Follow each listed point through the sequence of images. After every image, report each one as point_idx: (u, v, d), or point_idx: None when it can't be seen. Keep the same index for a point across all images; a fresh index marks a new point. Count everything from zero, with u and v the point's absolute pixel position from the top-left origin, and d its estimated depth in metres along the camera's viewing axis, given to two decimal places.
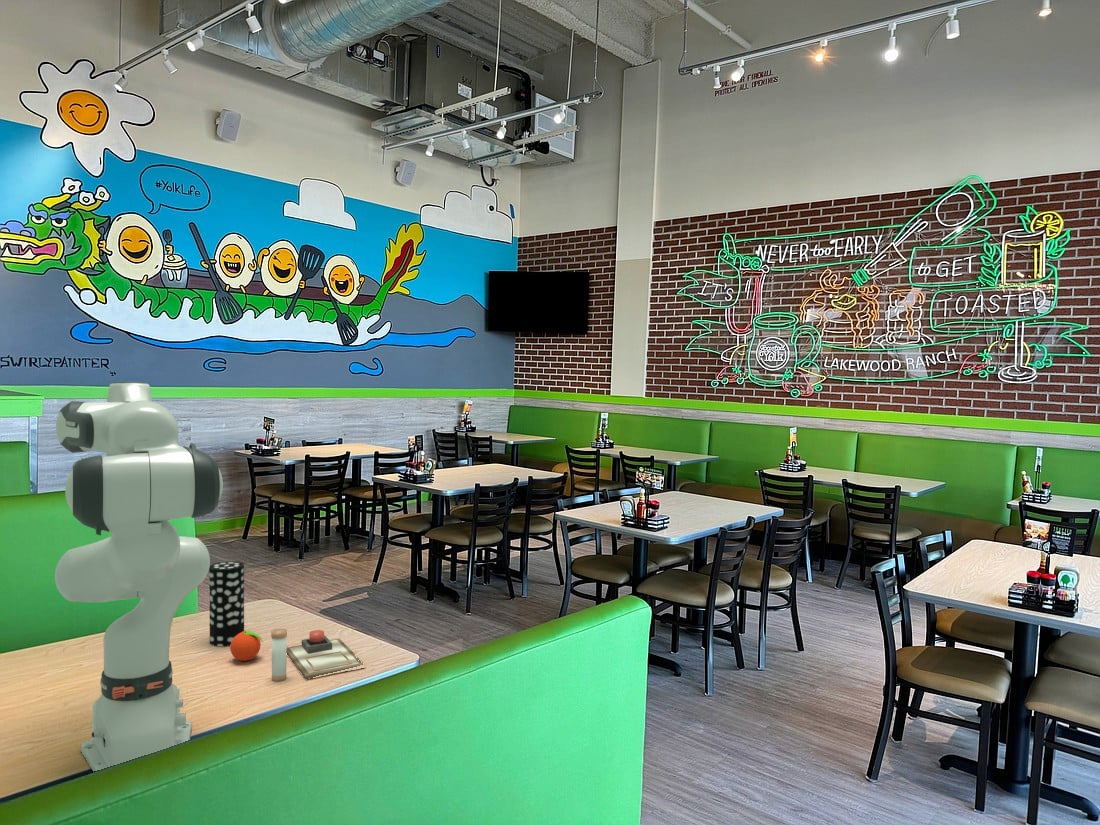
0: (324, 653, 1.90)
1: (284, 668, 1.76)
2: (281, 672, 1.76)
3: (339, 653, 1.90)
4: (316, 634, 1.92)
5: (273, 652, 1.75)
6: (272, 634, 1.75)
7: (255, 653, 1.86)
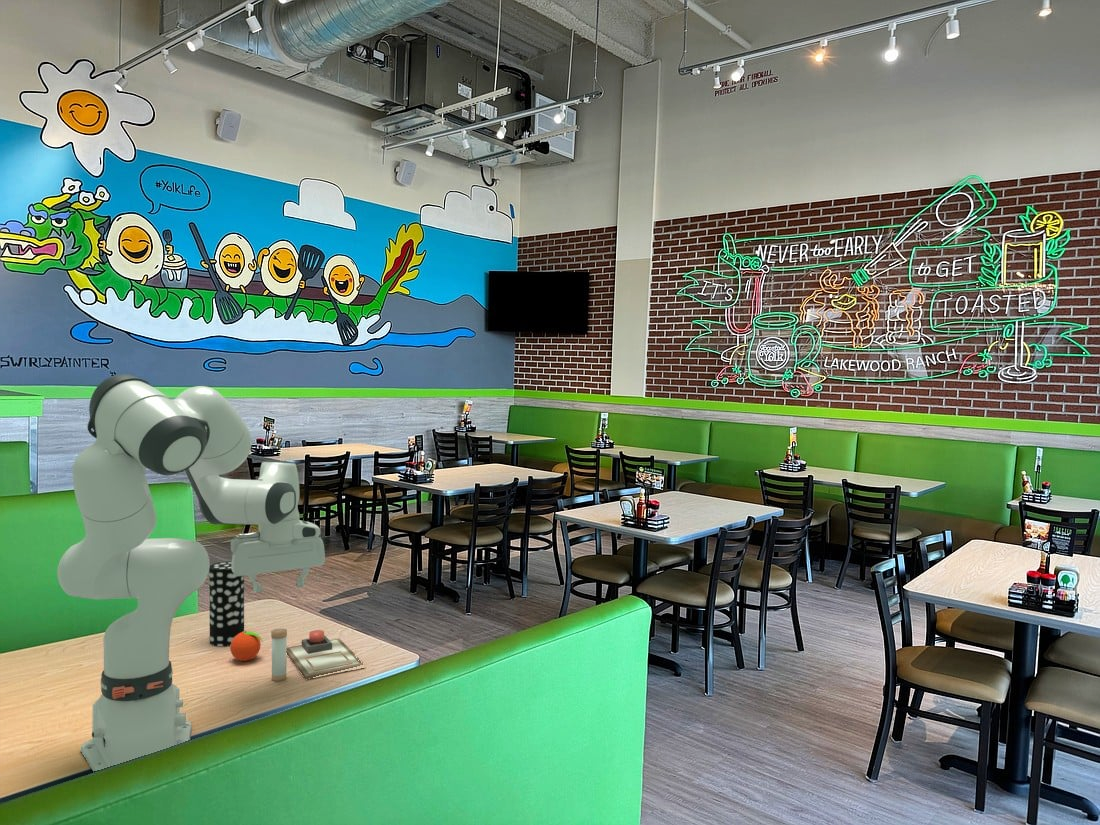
0: (324, 653, 1.90)
1: (284, 668, 1.76)
2: (281, 672, 1.76)
3: (339, 653, 1.90)
4: (316, 634, 1.92)
5: (273, 652, 1.75)
6: (272, 634, 1.75)
7: (255, 653, 1.86)
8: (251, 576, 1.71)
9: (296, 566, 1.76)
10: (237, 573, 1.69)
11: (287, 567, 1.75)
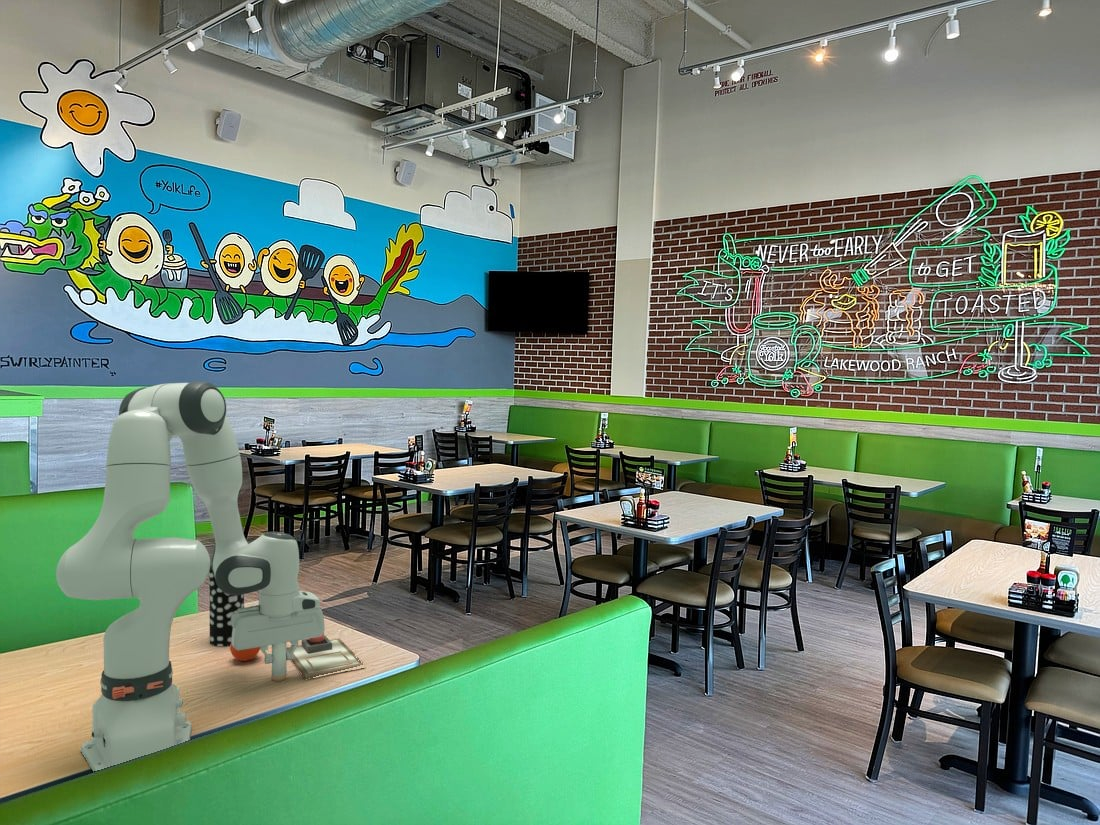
0: (324, 653, 1.90)
1: (285, 668, 1.76)
2: (281, 672, 1.76)
3: (339, 653, 1.90)
4: None
5: (273, 652, 1.75)
6: None
7: (255, 653, 1.86)
8: (262, 648, 1.73)
9: (296, 638, 1.77)
10: (237, 647, 1.70)
11: (287, 639, 1.76)
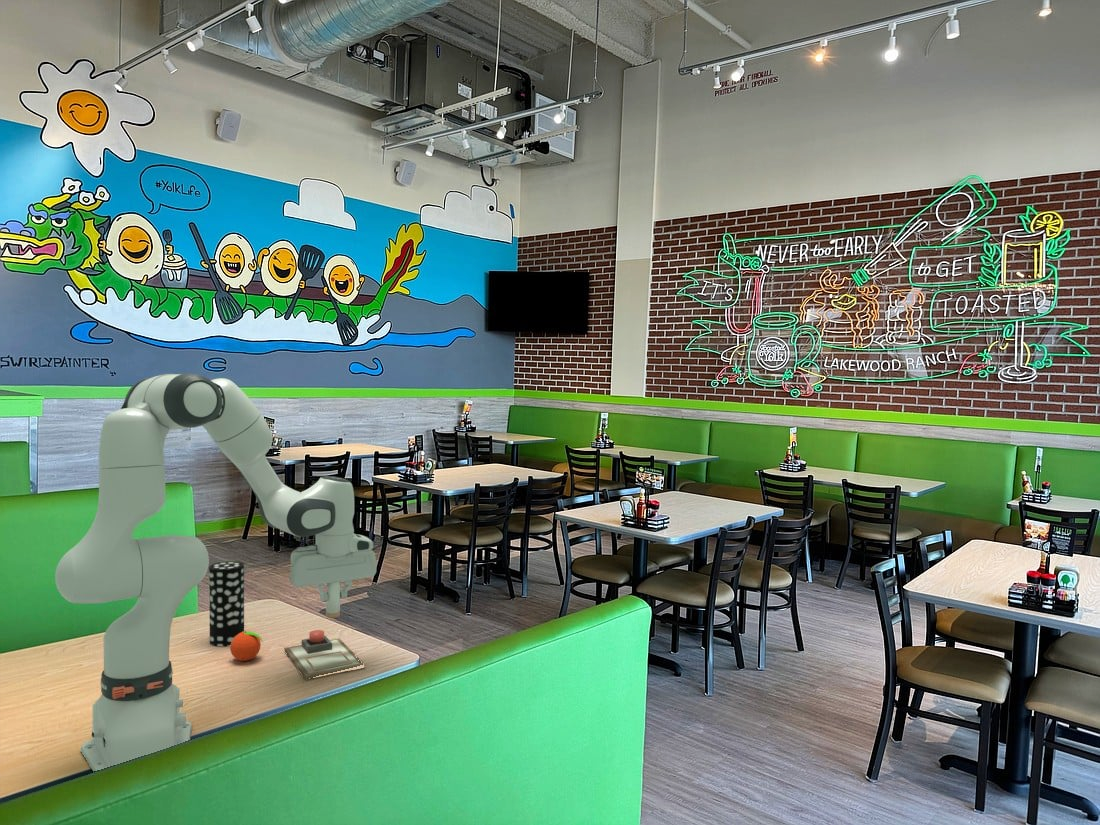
0: (324, 653, 1.90)
1: (339, 605, 1.84)
2: (335, 609, 1.84)
3: (339, 653, 1.90)
4: (316, 634, 1.92)
5: (328, 590, 1.83)
6: None
7: (255, 653, 1.86)
8: (319, 586, 1.81)
9: (350, 577, 1.84)
10: (296, 585, 1.77)
11: (342, 578, 1.83)
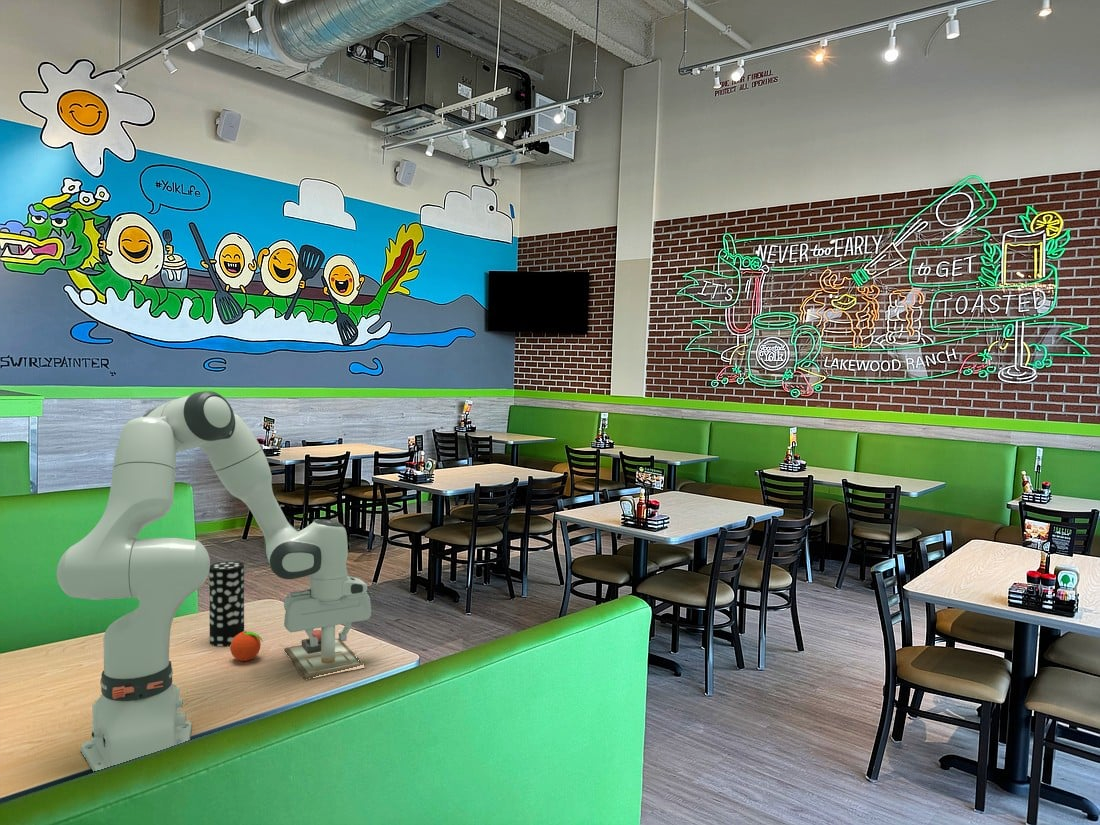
0: None
1: (333, 650, 1.85)
2: (330, 654, 1.84)
3: (339, 653, 1.90)
4: (316, 634, 1.92)
5: (323, 635, 1.83)
6: None
7: (255, 653, 1.86)
8: (308, 631, 1.81)
9: (344, 621, 1.85)
10: (290, 629, 1.78)
11: (336, 622, 1.84)
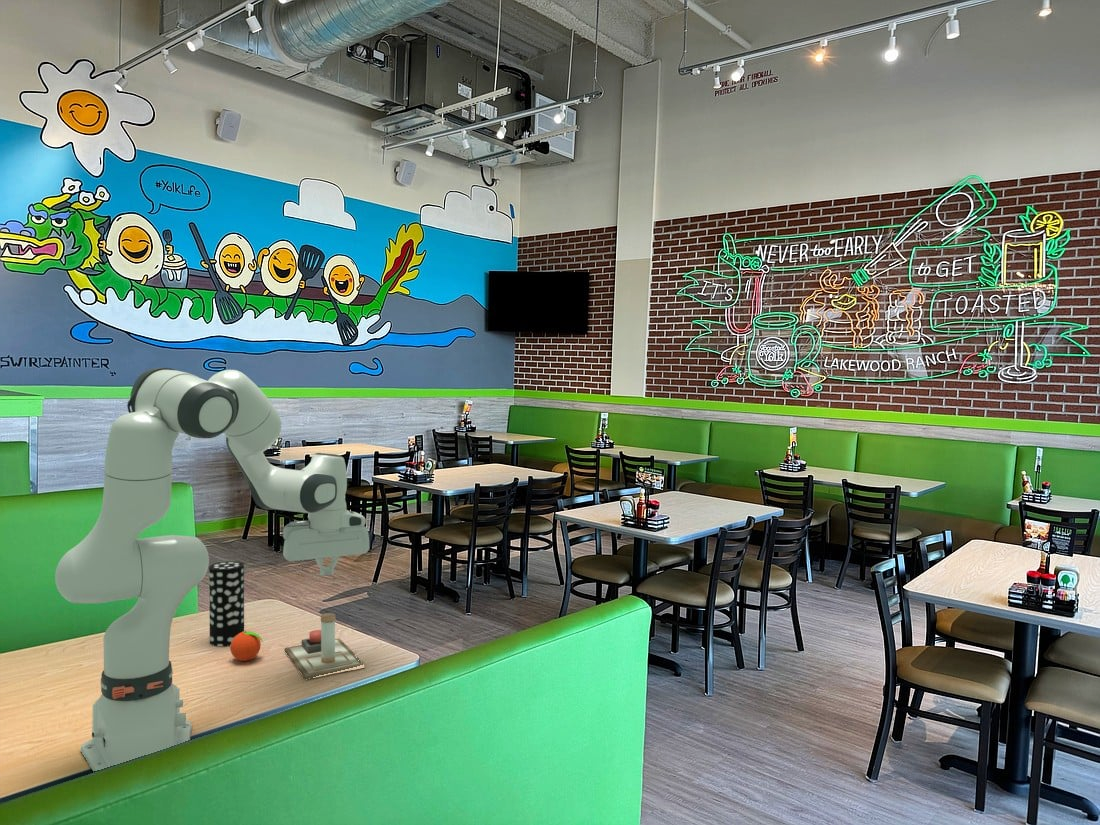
0: None
1: (333, 650, 1.85)
2: (330, 654, 1.84)
3: (339, 653, 1.90)
4: (316, 634, 1.92)
5: (323, 635, 1.83)
6: (322, 618, 1.83)
7: (255, 653, 1.86)
8: (318, 560, 1.84)
9: (342, 553, 1.86)
10: (289, 558, 1.80)
11: (334, 554, 1.85)
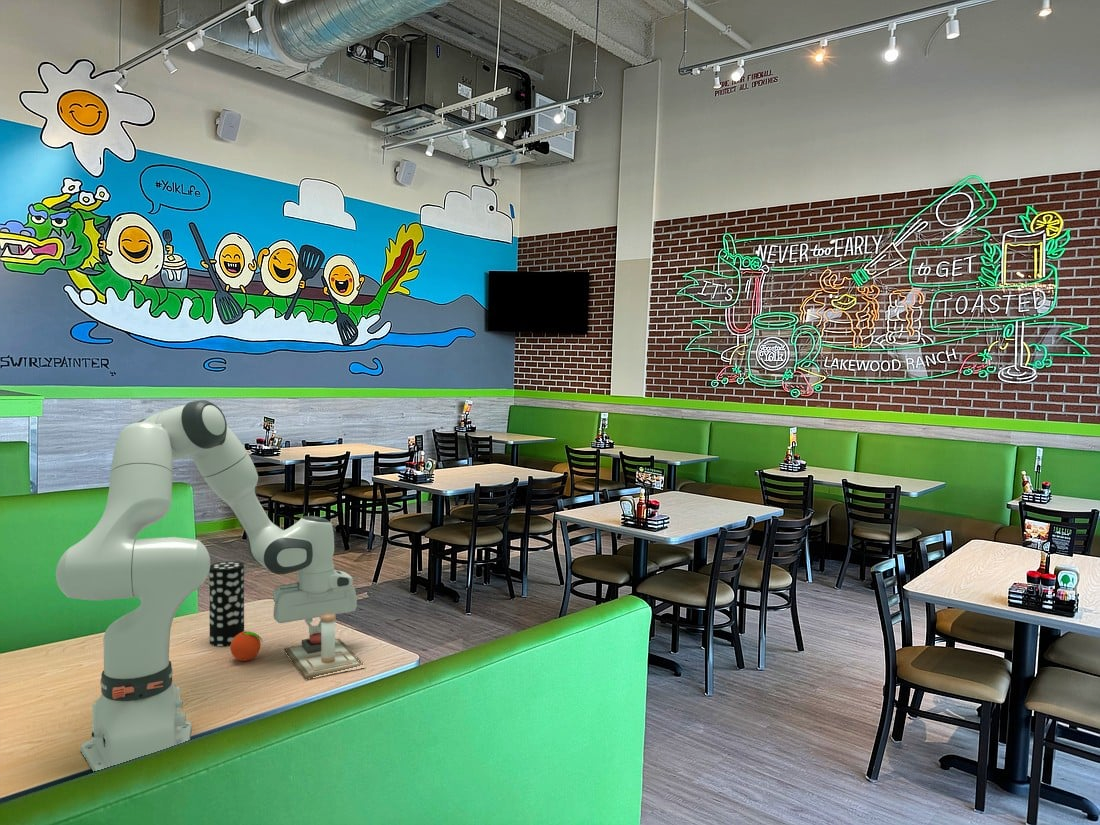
0: None
1: (333, 650, 1.85)
2: (330, 654, 1.84)
3: (339, 653, 1.90)
4: (316, 636, 1.92)
5: (323, 635, 1.83)
6: (322, 618, 1.83)
7: (255, 653, 1.86)
8: (308, 620, 1.91)
9: (331, 612, 1.93)
10: (279, 620, 1.87)
11: None
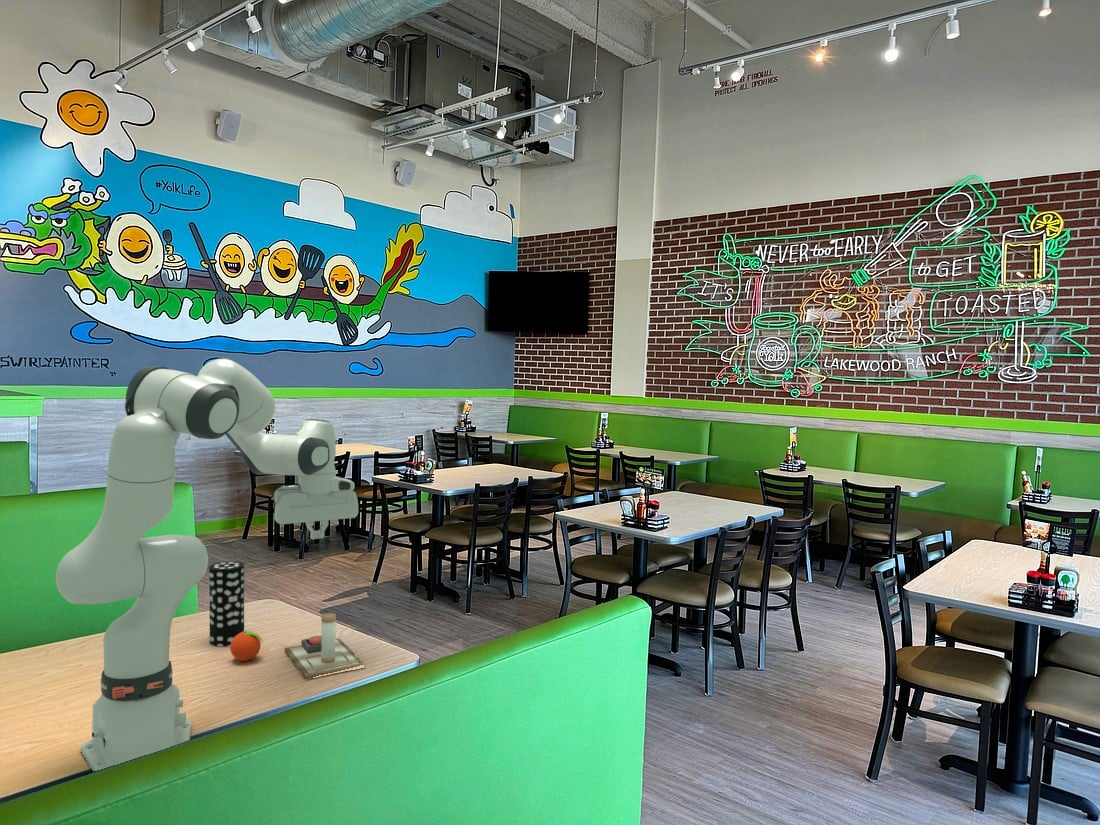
0: None
1: (333, 650, 1.85)
2: (330, 654, 1.84)
3: (339, 653, 1.90)
4: (316, 640, 1.92)
5: (323, 635, 1.83)
6: (322, 618, 1.83)
7: (255, 653, 1.86)
8: (309, 523, 1.89)
9: (332, 517, 1.92)
10: (280, 521, 1.85)
11: (324, 517, 1.91)
